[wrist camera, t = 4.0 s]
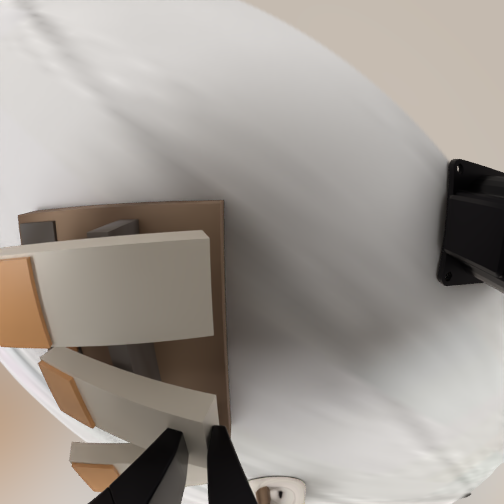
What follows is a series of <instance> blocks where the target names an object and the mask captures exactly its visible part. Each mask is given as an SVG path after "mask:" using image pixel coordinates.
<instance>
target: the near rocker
mask: <svg viewBox="0 0 504 504" xmlns="http://www.w3.org/2000/svg"><path fill="white" fill-rule="evenodd" d="M206 336H214V330H213V312H212V293H211V268H210V238H209V237H208V236H207V235H206V234H205V233H204V231H203V230H193V231H178V232H163V233H149V234H136V235H123V236H111V237H100V238H88V239H78V240H67V241H57V242H47V243H38V244H29V245H20V246H11V247H3V248H0V346H1V347H14V348H51V347H82V346H108V345H125V344H139V343H151V342H162V341H172V340H181V339H190V338H198V337H206Z"/></svg>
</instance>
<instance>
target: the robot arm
mask: <svg viewBox="0 0 504 504" xmlns="http://www.w3.org/2000/svg"><path fill="white" fill-rule="evenodd" d="M457 166H458V167H459V171H457ZM447 273H448V275H447V277H446V274H447ZM445 277H446V278H445ZM438 281H439V282H440V283H441V284H443V285H445V286H452V285H463V284H474V283H483V282H485V283H486V284H488V285H490V286H492V287H493V288H495V289H497V290H499V291H500V292H502V293H504V173H503V172H500V171H497V170H494V169H491V168H488V167H485V166H482V165H479V164H476V163H472V162H469V161H465V160H462V159H453V160H451V162H450V164H449V187H448V204H447V216H446V225H445V234H444V241H443V248H442V255H441V261H440V266H439V272H438ZM188 458H189V453H188V449H187V446H186V442H185V439H184V435H183V432H181V431H178V430H175V429H171V428H167V429H166V430H165V431H164V432H163V433H162V434H161V435H160V436H159V437H158V438H157V439H156V440H155V441H154V442H153V443H152V444H151V445H150V446H149V447H148V448H147V449H146V450H145V451H144V452H143V453H142V454H141V455H140V456H139V457H138V458H137V459H136V460H135V461H134V462H133V463H132V464H131V465H130V466H129V467H128V468H127V469H126V470H125V471H124V472H123V473H122V474H121V475H120V476H119V477H118V478H117V479H116V480H114V481H113V482H112V483H111V484H110V485H109V487H107V488H106V489H105V490H104V491H103V492H101V493H100V494H99V495H98V496H97V497H96V498H94V499H93V500H92V501H91V502H89V503H88V504H181V501H182V497H183V492H184V488H185V484H186V478H187V468H188ZM207 480H208V501H209V504H258V502H257V500H256V498H255V496H254V494H253V491H252V489H251V487H250V485H249V482H248V480H247V478H246V476H245V473H244V471H243V468H242V466H241V464H240V461H239V459H238V456H237V454H236V451H235V449H234V446H233V444H232V441H231V439H230V436H229V434H228V431H227V428H226V426H224V425H213V426H212V430H211V435H210V441H209V446H208V452H207Z"/></svg>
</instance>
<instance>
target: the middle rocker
mask: <svg viewBox="0 0 504 504" xmlns="http://www.w3.org/2000/svg"><path fill="white" fill-rule="evenodd" d="M40 359H41V361H40V362H39V363H38V364H39V367H40V369H41V371H42V374H43V376H44V378H45V380H46V382H47V384H48V387H49V389H50V391H51V393H52V395H53V397H54V399H55V400H56V402H57V404H58V406H59V408H60V410H61V411H63V412H64V413H66V414H68V415H69V416H71V417H73V418H74V419H76V420H78V421H79V422H81V423H83V424H85V425H87V426H88V427H90V428H92V429H93V428H94V427H95V426H96V427H98V428H100V429H102V430H104V431H106V432H108V433H110V434H112V435H114V436H116V437H119V438H121V439H123V440H125V441H128V442H130V443H132V444H135V445H137V446H139V447H142V448H144V449H147V448H148V447H149V446H150V445H151V444H152V443H153V442H154V441H155V440H156V439H157V438H158V437H159V436H160V435H161V434H162V433H163V432H164V431H165V430H166V429H167V428H171V429H175V430H178V431H181V432H183V435H184V439H185V442H186V446H187V449H188V453H189V458H188V464H191V465H195V466H199V467H202V468H206V469H207V452H208V446H209V441H210V435H211V430H212V426H213V425H219V418H218V409H217V399H216V395H214V394H209V393H205V392H200V391H196V390H191V389H187V388H183V387H179V386H175V385H172V384H168V383H164V382H161V381H157V380H154V379H150V378H147V377H144V376H141V375H137V374H134V373H131V372H128V371H125V370H122V369H119V368H117V367H114V366H111V365H108V364H106V363H103V362H100V361H98V360H95V359H93V358H90V357H88V356H85V355H83V354H80V353H78V352H76V351H73V350H71V349H69V348H66V347H53V348H52V349H51V350H49V351H48V352H46V353H45V354H44V355H42V356H41V357H40Z"/></svg>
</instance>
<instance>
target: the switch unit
mask: <svg viewBox="0 0 504 504" xmlns="http://www.w3.org/2000/svg"><path fill="white" fill-rule="evenodd" d="M18 221H19V231H20V239H21V245H29V244H38V243H47V242H57V241H67V240H78V239H88V238H100V237H111V236H123V235H136V234H149V233H163V232H178V231H193V230H203V231H204V233H205V234H206V235H207V236H208V237H209V238H210V268H211V293H212V312H213V330H214V336H206V337H198V338H190V339H181V340H172V341H162V342H151V343H139V344H125V345H108V346H82V347H66V348H69V349H71V350H73V351H76V352H78V353H80V354H83V355H85V356H88V357H90V358H93V359H95V360H98V361H100V362H103V363H106V364H108V365H111V366H114V367H117V368H119V369H122V370H125V371H128V372H131V373H134V374H137V375H141V376H144V377H147V378H150V379H154V380H157V381H161V382H164V383H168V384H172V385H175V386H179V387H183V388H187V389H191V390H196V391H200V392H205V393H209V394H214V395H216V399H217V409H218V418H219V425H224V426H226V428H227V431H228V434H229V436H230V439H231V414H230V398H229V379H228V359H227V335H226V306H225V267H224V200H205V201H165V202H141V203H122V204H106V205H92V206H80V207H68V208H58V209H48V210H38V211H33V212H29V213H25V214H21V215H18ZM52 348H53V347H51V348H48V351H49V350H51V349H52Z"/></svg>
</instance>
